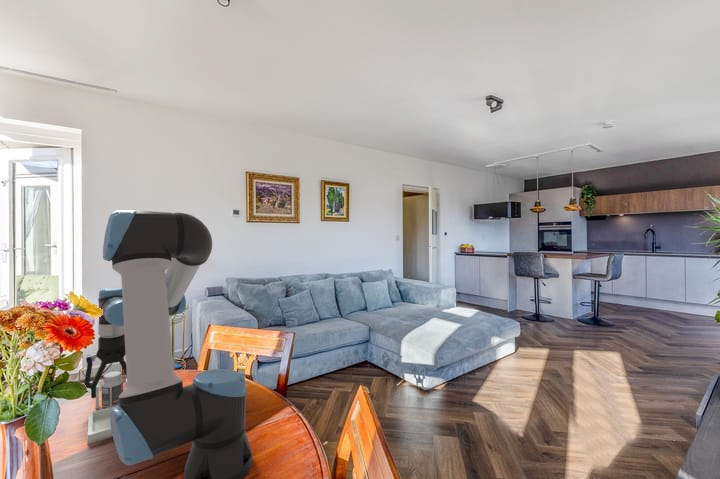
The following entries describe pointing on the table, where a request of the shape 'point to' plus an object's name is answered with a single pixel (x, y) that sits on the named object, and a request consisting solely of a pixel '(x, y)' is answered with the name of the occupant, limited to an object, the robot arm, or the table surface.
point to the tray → (99, 425)
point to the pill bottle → (111, 389)
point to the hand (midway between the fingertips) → (112, 402)
